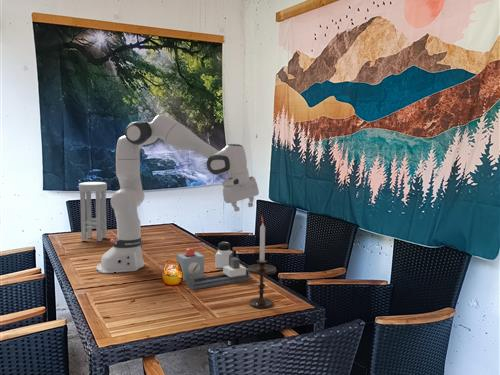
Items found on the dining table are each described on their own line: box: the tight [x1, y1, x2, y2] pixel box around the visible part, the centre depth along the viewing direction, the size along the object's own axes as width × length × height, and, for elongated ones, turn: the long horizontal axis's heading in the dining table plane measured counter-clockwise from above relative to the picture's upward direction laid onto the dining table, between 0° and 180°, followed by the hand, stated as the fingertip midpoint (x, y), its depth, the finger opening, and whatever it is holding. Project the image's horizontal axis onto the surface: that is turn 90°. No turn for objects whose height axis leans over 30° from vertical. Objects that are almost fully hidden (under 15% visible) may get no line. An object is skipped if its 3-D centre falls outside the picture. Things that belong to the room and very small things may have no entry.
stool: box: [78, 181, 108, 242], centre depth 268 cm, size 16×16×35 cm
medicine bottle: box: [214, 241, 234, 269], centre depth 218 cm, size 7×7×12 cm
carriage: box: [222, 256, 247, 277], centre depth 199 cm, size 8×7×7 cm
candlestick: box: [247, 214, 277, 310], centre depth 168 cm, size 11×11×35 cm
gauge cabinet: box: [176, 251, 205, 282], centre depth 201 cm, size 10×9×10 cm
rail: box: [185, 267, 251, 291], centre depth 195 cm, size 28×8×4 cm, turn 120°
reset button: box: [185, 247, 196, 257], centre depth 201 cm, size 4×4×4 cm
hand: (244, 209), depth 201 cm, fingers open, 8 cm apart
